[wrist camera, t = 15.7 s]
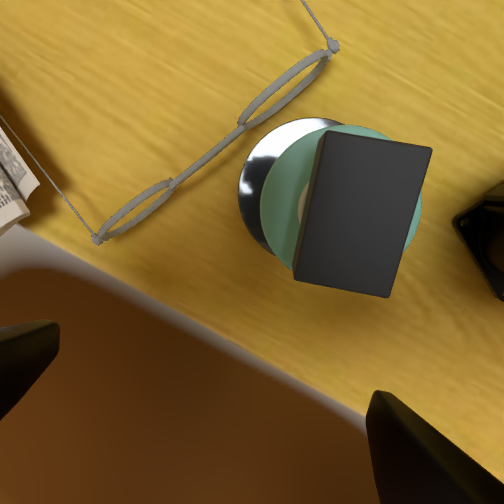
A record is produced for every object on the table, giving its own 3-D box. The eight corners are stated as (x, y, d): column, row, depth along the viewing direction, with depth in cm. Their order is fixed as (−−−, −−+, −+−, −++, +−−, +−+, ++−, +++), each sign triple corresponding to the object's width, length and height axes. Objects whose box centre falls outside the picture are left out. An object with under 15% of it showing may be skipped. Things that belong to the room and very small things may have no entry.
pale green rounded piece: (334, 379, 16) (526, 256, 5) (236, 358, 16) (245, 204, 6) (342, 201, 22) (439, -10, 12) (272, 188, 22) (306, -29, 12)
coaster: (408, 212, 20) (412, 213, 19) (288, 286, 22) (289, 289, 21) (331, 87, 19) (333, 83, 18) (211, 176, 20) (209, 176, 20)
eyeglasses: (118, 245, 22) (81, 257, 18) (-69, 8, 20) (-154, -36, 16) (339, 68, 18) (353, 36, 14) (135, -239, 16) (89, -372, 13)
